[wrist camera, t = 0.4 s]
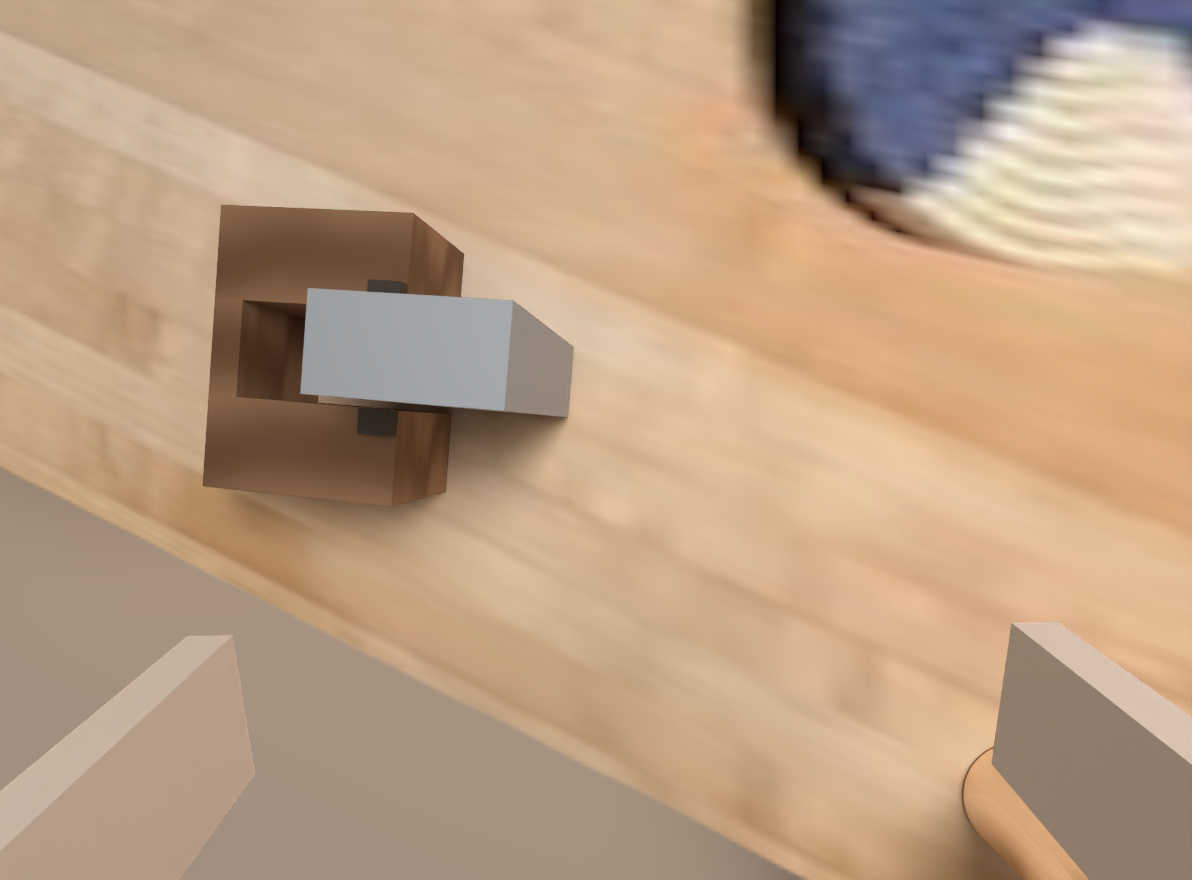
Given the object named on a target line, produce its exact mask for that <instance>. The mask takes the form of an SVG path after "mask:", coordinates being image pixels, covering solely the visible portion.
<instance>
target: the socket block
mask: <svg viewBox="0 0 1192 880" xmlns="http://www.w3.org/2000/svg"><path fill="white" fill-rule="evenodd" d="M463 260H464V254H463V253H462V252H461V251H460V250H458V249H457V248H456V247H455V246H454V245H452V244H451V243H450V242H449V241H447V240H446V239H445V238H444V237H442V236H441V235H440V234H439V233H437V232H436V231H435V230H434V229H433V228H431V227H430V226H429V225H428V224H426V223H425V222H424V221H423V220H421V219H420V218H419V217H418V216H416V215H415V214H414V213H403V212H379V211H355V210H332V209H308V208H284V207H260V206H237V205H221V217H220V232H219V247H218V262H217V278H216V293H215V308H214V323H213V338H212V353H211V369H210V384H209V399H208V414H207V429H206V444H205V460H204V475H203V486H205V487H214V488H223V489H233V490H242V491H251V492H261V493H270V494H279V495H289V496H298V497H307V498H317V499H326V500H335V501H344V502H354V503H363V504H372V505H382V506H395V505H399V504H402V503H406V502H410V501H414V500H417V499H421V498H425V497H428V496H432V495H436V494H439V493H443V492H445V491H446V479H447V466H448V453H449V440H450V427H451V414H443V413H431V412H419V411H408V410H396V409H384V408H373V407H361V406H349V405H338V404H326V403H317V402H318V395H309V394H300V391H301V377H302V362H303V348H304V334H305V320H306V305H307V291H308V288H315V289H332V290H348V291H365V292H381V293H398V294H415V295H431V296H448V297H461V285H462V273H463Z"/></svg>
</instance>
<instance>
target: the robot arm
mask: <svg viewBox="0 0 1192 880" xmlns="http://www.w3.org/2000/svg"><path fill="white" fill-rule="evenodd" d="M991 764H992V765H993V766H994V767H995V769H996V770H997V771H998V772H999V773H1000V775H1001V776H1002V777H1003V778H1004V779H1005V781H1006V782H1007V783H1008V784H1009V785H1010V786H1011V788H1012V789H1013V790H1014V791H1015V792H1016V794H1017V795H1018V796H1019V797H1020V798H1021V799H1022V801H1023V802H1024V803H1025V804H1026V805H1027V807H1028V808H1029V809H1030V810H1031V811H1032V813H1033V814H1034V815H1035V816H1036V817H1037V818H1038V820H1039V821H1040V822H1041V823H1042V824H1043V826H1044V827H1045V828H1046V829H1047V830H1048V831H1049V833H1050V834H1051V835H1052V836H1053V837H1054V839H1055V840H1056V841H1057V842H1058V843H1059V845H1060V846H1061V847H1062V848H1063V849H1064V850H1065V852H1066V853H1067V854H1068V855H1069V856H1070V858H1071V859H1072V860H1073V861H1074V862H1075V863H1076V865H1077V866H1078V867H1079V868H1080V869H1081V871H1082V872H1083V873H1084V874H1085V875H1086V877H1087V878H1088V879H1089V880H1192V717H1191V716H1190V715H1188V714H1187V713H1185V712H1184V711H1183V710H1181V709H1180V708H1178V707H1177V706H1175V705H1174V704H1173V703H1171V702H1170V701H1168V700H1167V699H1166V698H1164V697H1163V696H1161V695H1160V694H1158V693H1157V692H1156V691H1154V690H1153V689H1151V688H1150V687H1149V686H1147V685H1146V684H1144V683H1143V682H1141V681H1140V680H1139V679H1137V678H1136V677H1134V676H1133V675H1132V674H1130V673H1129V672H1127V671H1126V670H1125V669H1123V668H1122V667H1120V666H1119V665H1117V664H1116V663H1115V662H1113V661H1112V660H1110V659H1109V658H1108V657H1106V656H1105V655H1103V654H1102V653H1100V652H1099V651H1098V650H1096V649H1095V648H1093V647H1092V646H1091V645H1089V644H1088V643H1086V642H1085V641H1083V640H1082V639H1081V638H1079V637H1078V636H1076V635H1075V634H1074V633H1072V632H1071V631H1069V630H1068V629H1067V628H1065V627H1064V626H1062V625H1061V624H1059V623H1058V622H1028V623H1011V630H1010V637H1009V644H1008V651H1007V658H1006V665H1005V672H1004V679H1003V686H1002V693H1001V700H1000V707H999V714H998V721H997V728H996V735H995V742H994V748H993V755H992V762H991ZM254 776H255V768H254V763H253V756H252V750H251V743H250V737H249V731H248V725H247V719H246V713H245V707H244V701H243V695H242V689H241V683H240V677H239V671H238V664H237V659H236V653H235V647H234V640H233V635H208V636H187V637H186V638H184V639H183V640H182V641H181V642H180V643H178V644H177V645H176V646H175V647H173V648H172V649H171V650H170V651H169V652H167V653H166V654H165V655H164V656H163V657H161V658H160V659H159V660H158V661H157V662H155V663H154V664H153V665H152V666H150V667H149V668H148V669H147V670H146V671H144V672H143V673H142V674H141V675H140V676H139V677H137V678H136V679H135V680H134V681H132V682H131V683H130V684H129V685H128V686H126V687H125V688H124V689H123V690H122V691H120V692H119V693H118V694H117V695H116V696H114V697H113V698H112V699H111V700H109V701H108V702H107V703H106V704H105V705H103V706H102V707H101V708H100V709H99V710H97V711H96V712H95V713H94V714H93V715H91V716H90V717H89V718H88V719H86V720H85V721H84V722H83V723H82V724H80V725H79V726H78V727H77V728H76V729H74V730H73V731H72V732H71V733H70V734H68V735H67V736H66V737H65V738H64V739H63V740H61V741H60V742H59V743H58V744H56V745H55V746H54V747H53V748H52V749H50V750H49V751H48V752H47V753H45V754H44V755H43V756H42V757H41V758H39V759H38V760H37V761H36V762H35V763H33V764H32V765H31V766H30V767H28V768H27V769H26V770H25V771H24V772H23V773H21V774H20V775H19V776H18V777H17V778H15V779H14V780H13V781H12V782H10V783H9V784H8V785H7V786H6V787H4V788H3V789H2V790H1V791H0V880H180V879H181V878H182V877H183V875H184V874H185V872H186V871H187V870H188V868H189V867H190V865H191V864H192V863H193V861H194V860H195V858H196V857H197V856H198V854H199V853H200V851H201V850H202V849H203V847H204V846H205V844H206V843H207V841H208V840H209V839H210V837H211V836H212V834H213V833H214V832H215V830H216V829H217V828H218V826H219V825H220V823H221V822H222V821H223V819H224V818H225V816H226V815H227V814H228V812H229V811H230V809H231V808H232V807H233V805H234V804H235V802H236V801H237V800H238V798H239V797H240V795H241V794H242V793H243V791H244V789H245V788H246V787H247V786H248V784H249V783H250V781H251V780H252V779H253V777H254Z"/></svg>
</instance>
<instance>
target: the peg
mask: <svg viewBox="0 0 1192 880" xmlns="http://www.w3.org/2000/svg"><path fill="white" fill-rule="evenodd" d="M573 349H574V347H573V346H572V345H570V344H569V343H568V342H567V341H565V340H564V339H563V338H561V337H560V336H559V335H557V334H556V333H555V332H554V331H552V330H551V329H550V328H548V327H547V326H546V325H544V324H543V323H542V322H541V321H539V320H538V319H537V318H535V317H534V316H533V315H531V314H530V313H529V312H528V311H526V310H525V309H524V308H522V307H521V306H520V305H518V304H517V303H516V302H515V301H513V300H498V299H481V298H465V297H448V296H431V295H415V294H398V293H381V292H365V291H348V290H332V289H315V288H308V291H307V305H306V320H305V334H304V348H303V362H302V377H301V391H300V394H309V395H320V396H331V397H341V398H352V399H363V400H374V401H385V402H396V403H407V404H418V405H429V406H441V407H452V408H464V409H476V410H488V411H500V412H512V413H524V414H535V415H547V416H559V417H568V409H569V397H570V385H571V373H572V361H573Z"/></svg>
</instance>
